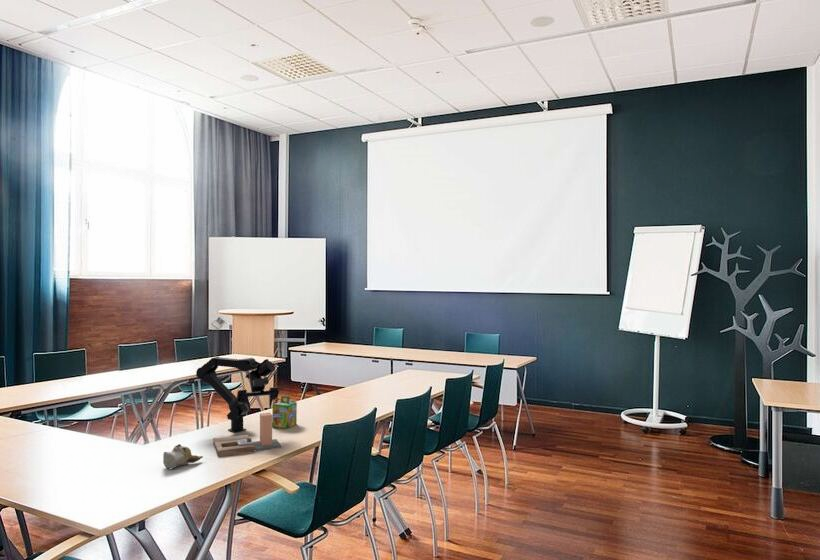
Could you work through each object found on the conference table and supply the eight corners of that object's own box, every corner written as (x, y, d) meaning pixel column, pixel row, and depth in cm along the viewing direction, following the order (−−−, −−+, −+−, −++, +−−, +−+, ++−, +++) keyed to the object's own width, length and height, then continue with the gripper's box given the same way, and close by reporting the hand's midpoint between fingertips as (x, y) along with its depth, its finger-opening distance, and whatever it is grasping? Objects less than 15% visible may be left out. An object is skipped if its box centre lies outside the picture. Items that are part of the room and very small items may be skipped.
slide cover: (236, 441, 252) (236, 437, 252) (250, 439, 255) (250, 436, 255) (238, 445, 246) (238, 442, 246) (253, 444, 248) (253, 440, 248)
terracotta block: (260, 443, 255) (259, 413, 255) (270, 441, 257) (270, 412, 257) (261, 445, 251) (261, 415, 251) (272, 444, 253) (272, 414, 253)
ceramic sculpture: (155, 445, 225) (186, 438, 238) (154, 468, 224) (185, 460, 238) (173, 449, 220) (204, 442, 233) (172, 472, 219) (203, 464, 233)
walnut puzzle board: (213, 444, 257) (213, 438, 257) (247, 440, 263) (247, 434, 263) (217, 456, 239) (217, 450, 239) (254, 452, 245) (254, 446, 245)
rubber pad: (251, 444, 257) (251, 442, 257) (276, 441, 261) (276, 439, 261) (255, 450, 247) (255, 448, 247) (281, 447, 251) (281, 445, 251)
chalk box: (271, 427, 285) (271, 397, 285) (281, 423, 294) (280, 394, 294) (288, 429, 283) (288, 398, 283) (297, 424, 291) (297, 395, 291)
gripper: (237, 372, 266) (240, 401, 256) (278, 370, 274) (283, 397, 264) (235, 387, 274) (238, 415, 263) (274, 383, 281) (279, 411, 271)
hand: (260, 409), depth 265 cm, fingers open, 9 cm apart
